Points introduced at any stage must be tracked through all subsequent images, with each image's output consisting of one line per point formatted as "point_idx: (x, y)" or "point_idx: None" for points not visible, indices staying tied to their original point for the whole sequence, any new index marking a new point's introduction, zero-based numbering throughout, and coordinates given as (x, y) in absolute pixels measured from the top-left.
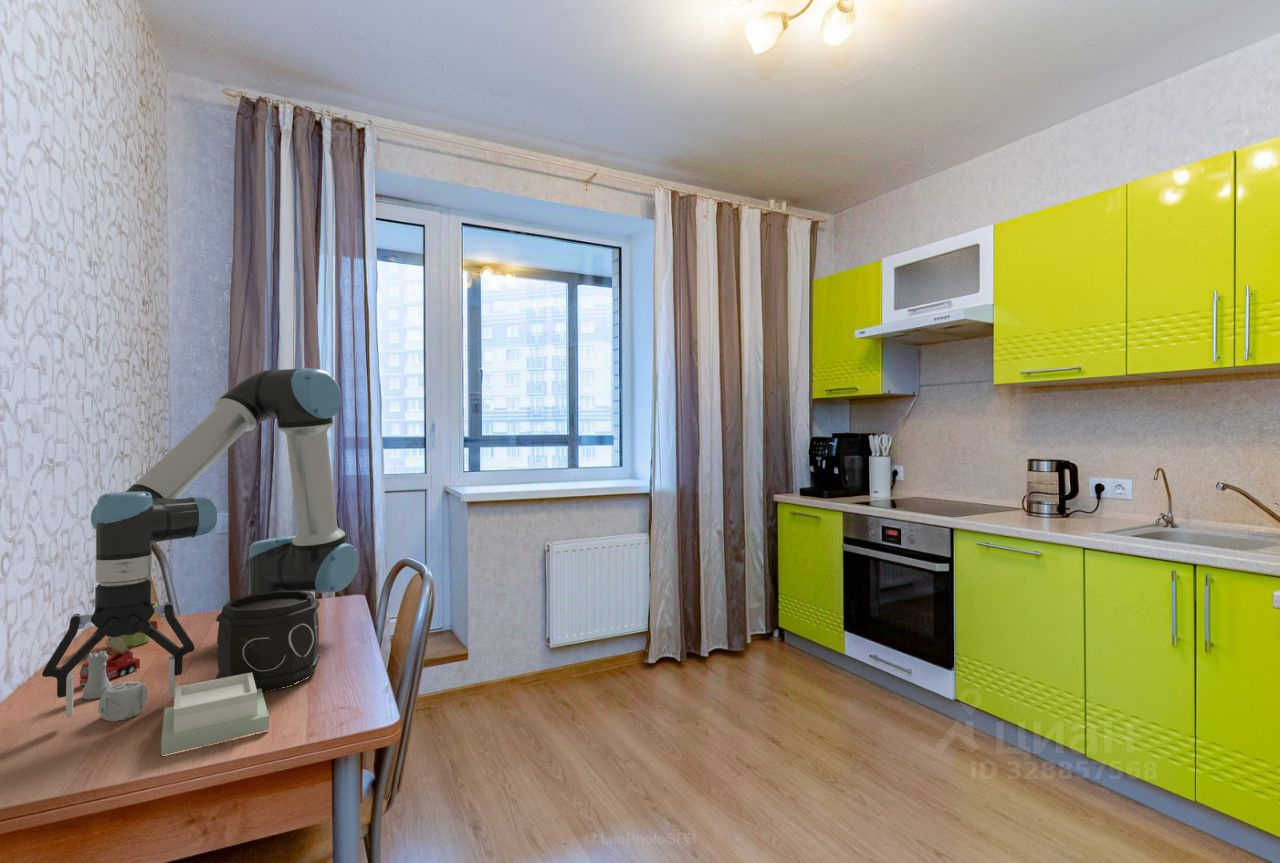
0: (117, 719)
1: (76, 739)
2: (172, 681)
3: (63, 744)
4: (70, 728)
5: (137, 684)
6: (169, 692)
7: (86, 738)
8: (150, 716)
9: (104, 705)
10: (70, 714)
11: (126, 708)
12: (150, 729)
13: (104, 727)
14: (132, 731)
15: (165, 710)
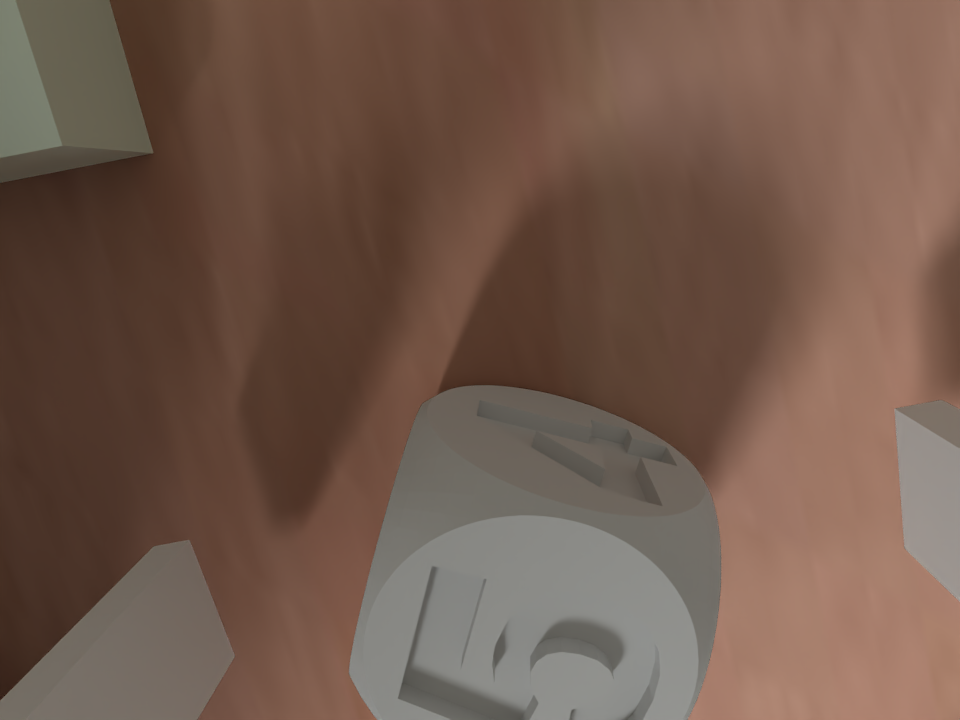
0: (539, 396)
1: (760, 114)
2: (72, 636)
3: (840, 39)
4: (849, 400)
5: (397, 668)
6: (165, 566)
7: (687, 98)
8: (317, 376)
9: (658, 472)
10: (922, 412)
11: (466, 403)
12: (224, 59)
13: (603, 296)
14: (359, 84)
15: (24, 60)
